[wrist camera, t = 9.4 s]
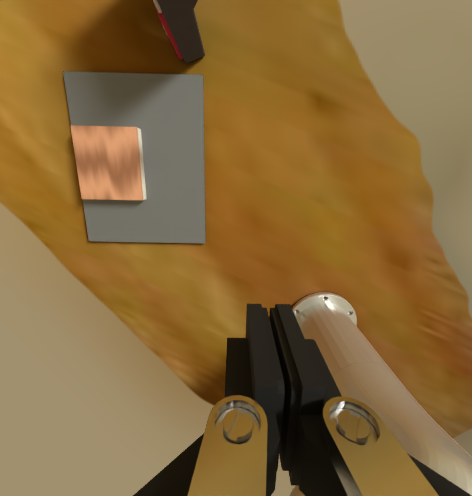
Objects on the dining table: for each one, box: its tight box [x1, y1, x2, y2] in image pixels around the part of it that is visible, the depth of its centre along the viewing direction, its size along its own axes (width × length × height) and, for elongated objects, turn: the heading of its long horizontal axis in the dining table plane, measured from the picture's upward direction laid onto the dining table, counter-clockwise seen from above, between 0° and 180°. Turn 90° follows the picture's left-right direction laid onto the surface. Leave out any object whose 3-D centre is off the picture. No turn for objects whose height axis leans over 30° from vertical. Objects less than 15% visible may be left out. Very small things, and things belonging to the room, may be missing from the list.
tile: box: [70, 125, 146, 200], centre depth 37 cm, size 10×2×9 cm
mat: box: [63, 71, 206, 243], centre depth 38 cm, size 24×19×1 cm
